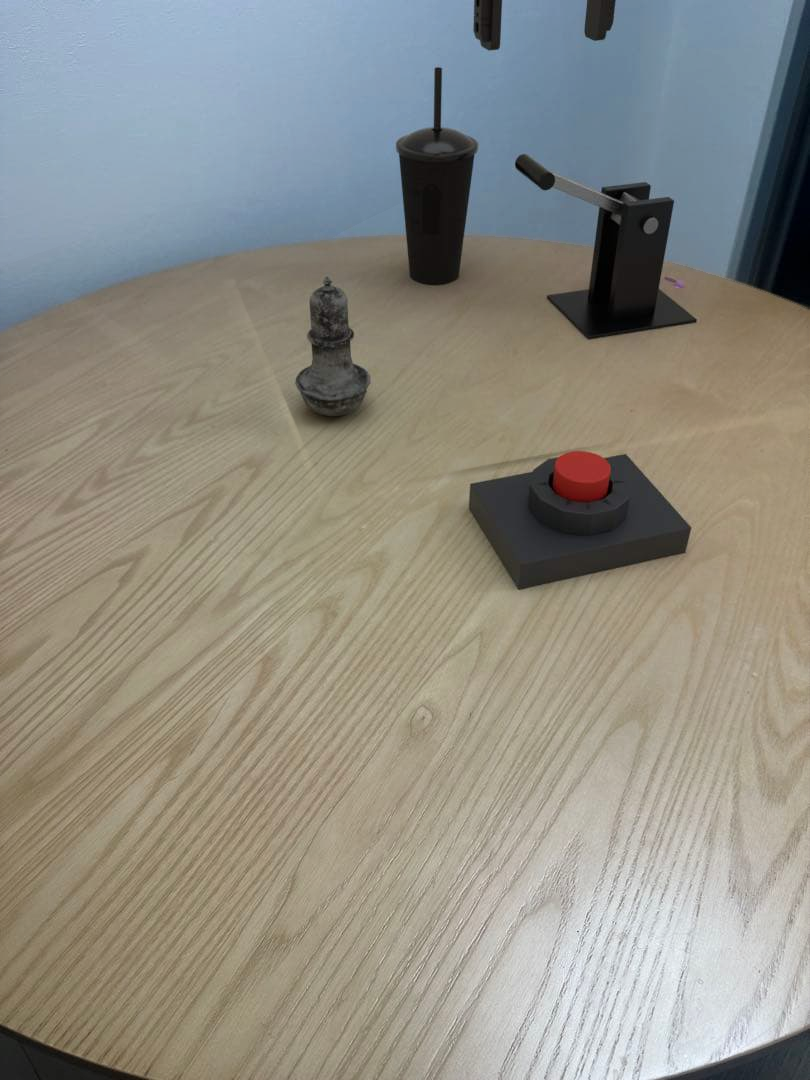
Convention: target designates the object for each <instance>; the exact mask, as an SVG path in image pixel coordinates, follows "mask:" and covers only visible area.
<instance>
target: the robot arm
mask: <svg viewBox="0 0 810 1080" xmlns="http://www.w3.org/2000/svg"><path fill="white" fill-rule="evenodd" d="M473 1H474V3H473V29H472V30H473V34H474V37H475V39H477V41H479V44H480V45H481V47H482V48H484V49H485V50H487V51H498V50H500V48H501V37H502V36H501V35H502V12H503V0H473ZM616 1H617V0H586V6H585V7H586V8H585V19H584V21H585V22H584V30H583V31H584V32H583V33H584V36H585V38H588V39H590V40H592V41H594V42H596V41H604V40H606V37H607V32H609V31H611V30H612V27H613V25H614V20H615V10H616Z"/></svg>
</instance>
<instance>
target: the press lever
mask: <svg viewBox="0 0 810 1080" xmlns="http://www.w3.org/2000/svg"><path fill="white" fill-rule="evenodd" d="M514 166H515V167H514V168H515V169H516V171H518V172H519V173H520V174H522V175H523V176H524V177H525V178H527V179H528V180H529V181H530V182H532V183H533V184H534V185H535V186H537V187H538V188H539V189H541V190H542V191H548V190H551V189H552V188H553V189H556V190H558V191H561V192H563V193H566V194H567V195H570V196H573V197H575V198H577V199H580V200H581V201H584V202H587V203H589V204H591V205H594V206H597V207H598V208H599V207H601V208H603V209H606V210H608V211H611V212H613V213H612V215H611V217H610V218H611V219H613V220H614V221H615V222H617V223H618V224H619V225H620V222H621V215H622V208H623V203H624V202H631V201H639V200H641V199H639V198H636V197H634V196H632V195H630V194H627V193H625V192H624V193H623V194H622V196H621V198H620V200H618V199H615V198H613V197H611V196H608V195H606V194H604V193H601V191H600V190H596V189H594V188H592V187H590V186H587V185H584V184H582V183H580V182H578V181H576V180H573V179H571V178H568V177H566V176H564V175H562V174H559V173H557V172H554V171H552V170H550V169H547V168H546V167H544V166H543V165H542V164H540V162H538V161H536V160H535V159H534V158H533V157H531V156H530V155H528V154H526V153H521V154H520V155H518V156H517V158H516V159H515V162H514Z"/></svg>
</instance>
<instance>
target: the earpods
mask: <svg viewBox="0 0 810 1080" xmlns="http://www.w3.org/2000/svg"><path fill="white" fill-rule="evenodd" d="M664 279H665V280H667V281H670V282H674V283H675V285H674V288H675V289H679V288H684V287H685V283H684V282H683V281H682V280H675V279H674V278H672V277H669V276H664Z"/></svg>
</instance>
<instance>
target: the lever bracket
mask: <svg viewBox="0 0 810 1080" xmlns="http://www.w3.org/2000/svg"><path fill="white" fill-rule="evenodd" d="M651 188H652V185H651V184H649V183H648V182H646V181H643V182H634V183H626V184H617V185H607V186H602V187H601V190H600V192H601V193H604V194H606V195H608V196H611V197H613V198H615V199H618V200H620V198H621V196H622V194H623V193H624V192H625V193H627V194H630V195H632V196H634V197H636V198H639V199H641V200H639V201H631V202H624V203H623V208H622V215H621V222H620V225H619V224H618V223H617V222H615V221H614V220H613V219H611V218H610V217H611V215H612V213H613V212H611V211H608V210H606V209H603V208H601V207H599V206H598V214H597V222H596V230H595V238H594V246H593V252H592V253H593V254H592V262H591V270H590V277H589V285H588V289H587V288H586V289H583V290H575V291H567V292H560V293H554V294H547V295H546V299H547V301H549V303H551V305H552V306H554V307H555V309H557V310H558V311H559V312H560V313H561V314H562V315H563V316H564V317H565V318H566V320H568V321H569V322H570V323H571V324H572V326H574V327H575V329H577V330H578V331H579V332H580V333H581V335H583V336H584V337H585V338H586V339H587V340H588V341H589V340H595V339H600V338H608V337H615V336H620V335H627V334H633V333H639V332H644V331H645V332H646V331H652V330H658V329H663V328H664V329H665V328H669V327H671V328H672V327H676V326H683V325H690V324H696V323H697V322H698V319H697V318H696V317H695V316H693V314H691V313H690V312H688V311H687V309H685V308H684V307H683V306H681V305H680V304H679V303H678V302H676V301H675V300H674V299H672V298H671V297H670V296H669V295H668V294H666V293H665V292H663V291H662V290H661V289H660V284H661V278H662V274H663V273H662V272H663V267H664V261H665V255H666V249H667V243H668V239H669V232H670V227H671V223H672V222H671V221H672V215H673V210H674V204H675V200H674V199H672V198H671V197H670V196H665V197H664V196H663V197H657V198H650V196H651Z"/></svg>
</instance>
